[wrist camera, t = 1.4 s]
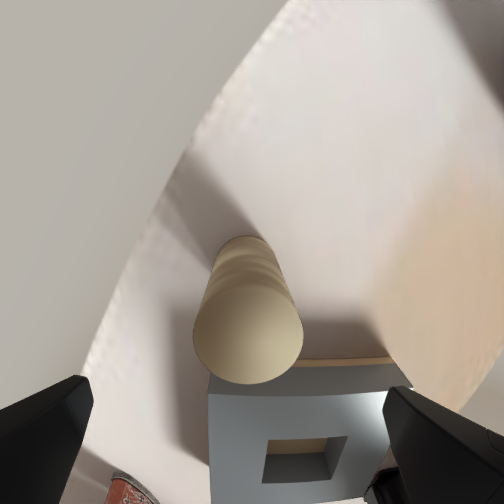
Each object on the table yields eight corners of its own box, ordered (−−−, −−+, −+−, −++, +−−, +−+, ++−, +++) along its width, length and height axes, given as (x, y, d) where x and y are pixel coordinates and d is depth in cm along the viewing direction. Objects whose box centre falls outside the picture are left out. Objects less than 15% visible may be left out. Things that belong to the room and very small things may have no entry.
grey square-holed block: (390, 356, 23) (414, 387, 19) (351, 465, 26) (362, 496, 22) (213, 356, 22) (207, 393, 18) (213, 469, 26) (211, 504, 21)
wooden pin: (279, 237, 21) (310, 291, 11) (274, 296, 21) (296, 385, 12) (216, 234, 20) (192, 284, 11) (214, 293, 21) (194, 381, 12)
